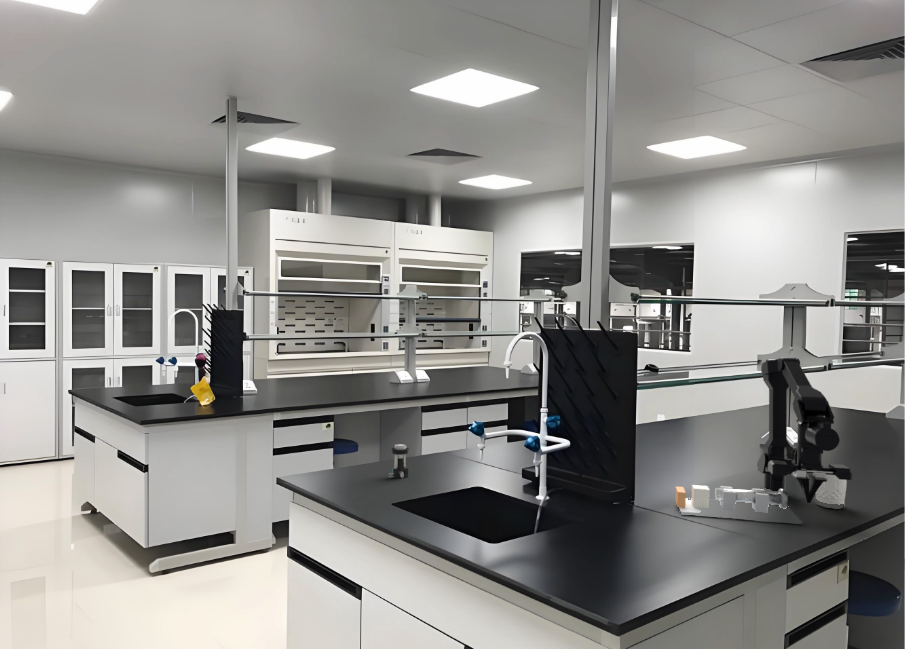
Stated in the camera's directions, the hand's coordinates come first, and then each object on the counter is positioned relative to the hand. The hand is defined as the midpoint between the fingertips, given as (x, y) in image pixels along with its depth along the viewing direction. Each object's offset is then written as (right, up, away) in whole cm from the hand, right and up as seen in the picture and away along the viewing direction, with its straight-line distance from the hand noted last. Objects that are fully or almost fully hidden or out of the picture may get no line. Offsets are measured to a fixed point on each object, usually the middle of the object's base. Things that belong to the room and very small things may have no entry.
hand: (808, 502), depth 174 cm
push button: (-110, -2, +35) cm, 115 cm away
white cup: (+12, -4, +12) cm, 17 cm away
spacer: (-26, -2, +6) cm, 27 cm away
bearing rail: (-17, -4, +4) cm, 18 cm away
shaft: (-14, -2, +3) cm, 14 cm away
